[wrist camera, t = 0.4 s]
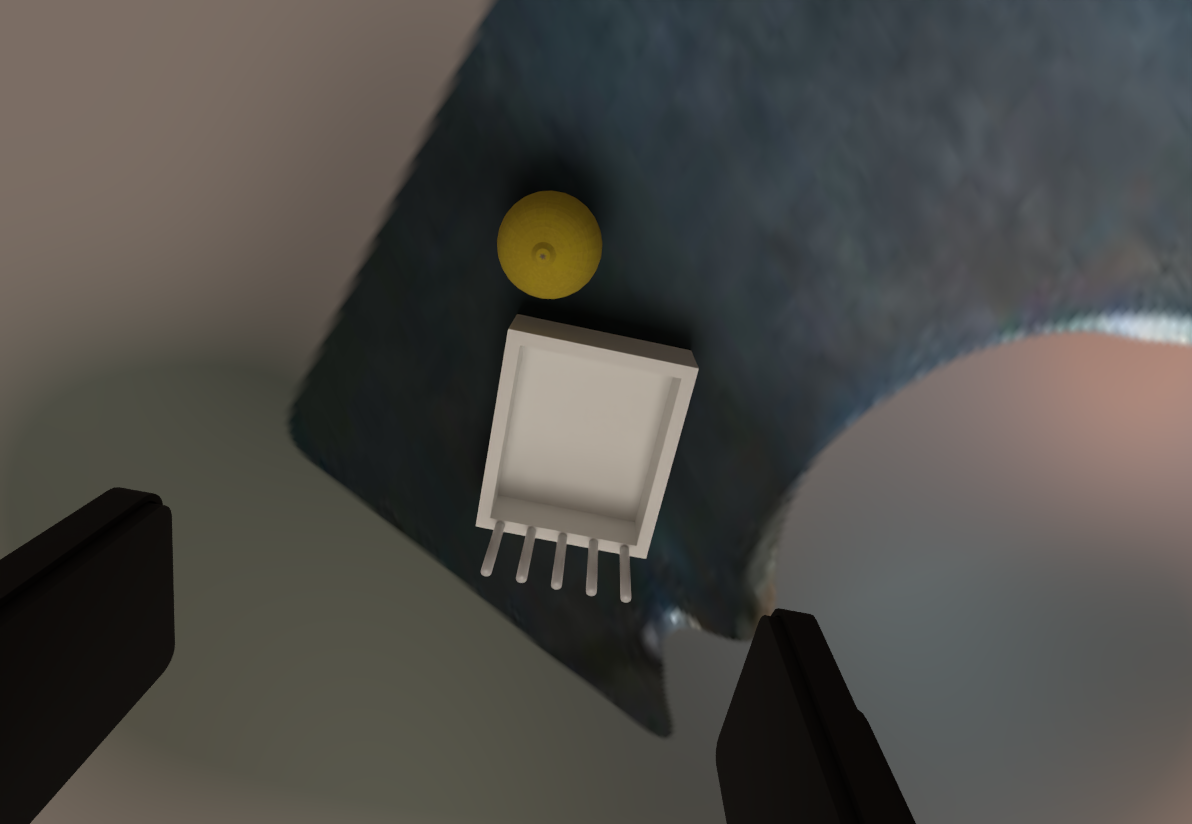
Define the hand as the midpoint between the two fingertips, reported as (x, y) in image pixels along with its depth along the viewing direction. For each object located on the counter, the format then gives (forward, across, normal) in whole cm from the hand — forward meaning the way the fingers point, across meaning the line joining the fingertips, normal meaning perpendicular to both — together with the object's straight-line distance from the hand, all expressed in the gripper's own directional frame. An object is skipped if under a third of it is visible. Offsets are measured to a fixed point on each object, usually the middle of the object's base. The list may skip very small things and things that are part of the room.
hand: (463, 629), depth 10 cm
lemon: (+32, +1, -3) cm, 32 cm away
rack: (+32, -2, +9) cm, 33 cm away
